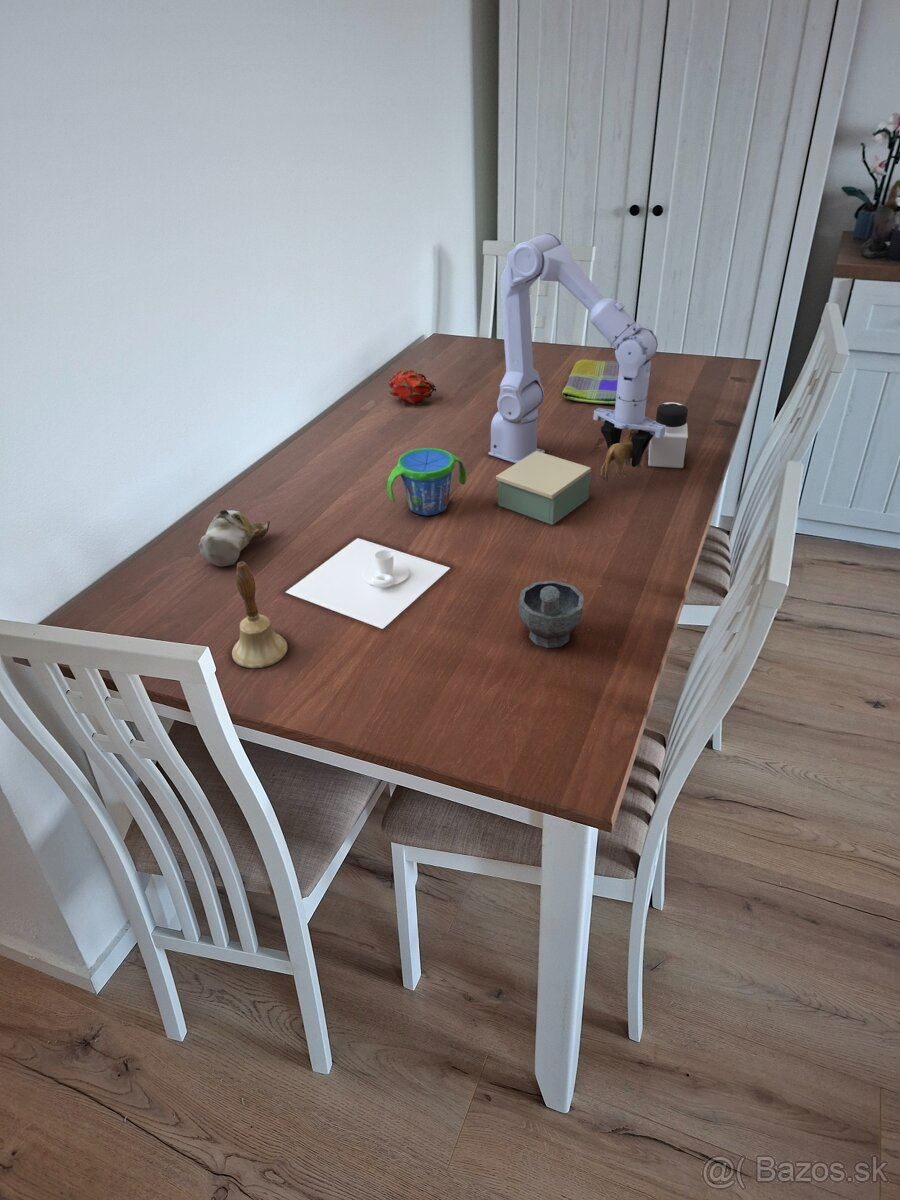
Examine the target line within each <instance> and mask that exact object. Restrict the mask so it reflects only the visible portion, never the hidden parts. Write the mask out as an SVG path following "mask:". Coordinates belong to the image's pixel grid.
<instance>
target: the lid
mask: <svg viewBox="0 0 900 1200" xmlns="http://www.w3.org/2000/svg"><path fill="white" fill-rule="evenodd" d="M591 471H592V468H591V467H590V466H586V465H583V464H581V463H577V462H573V461H570V460H567V459H564V458H560V457H558V456H554V455H551V454H548V453H542V452H538V451H535V452H533V453H532V454H530V455H528V456H527V457H525V458H524V459H522V460H521V461H519V462H517V463H513V465H511V466H509V467H508V468H506V469H505V470H503V471H501V472H499V474H497V475H495V480H496V481H497V482H498V481H501V482H504V483H507V484H510V485H512V486H515V487H518V488H521V489H524V490H527V491H530V492H533V493H536V494H539V495H542V496H545V497H548V498H551V499H552V498H554V497H555V496H557V495H558V494H559V493H561V492H562V491H564V490H565V489H567V488H568V487H569V486H571V485H572V484H574V483H575V482H576V481H578V480H579V479H581V478H582V477H583V476H585V475H586V474H588V473H589V472H591ZM591 473H592V472H591Z"/></svg>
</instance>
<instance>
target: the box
mask: <svg viewBox="0 0 900 1200" xmlns="http://www.w3.org/2000/svg"><path fill="white" fill-rule="evenodd" d="M591 473H592V472H589V473H588V474H586V475H585V476H583V477H582V478H581V479H579V480H578V481H576V482H575V483H574V484H572V485H571V486H569V487H568V488H567V489H565V490H564V491H562V492H561V493H559V494H558V495H557V496H555V497H554V498H552V499H551V498H548V497H545V496H542V495H539V494H536V493H533V492H530V491H527V490H524V489H521V488H518V487H515V486H512V485H510V484H507V483H504V482H501V481H498V480H497V506H499V507H501V508H504V509H506V510H510V511H513V512H516V513H519V514H520V515H524V516H526V517H529V518H532V519H535V520H537V521H541V522H543V523H546V524H548V525H552V526H553V525H555V524H556V523H557V522H559V521H561V520H562V519H563V518H564V517H565V516H567V515H568V514H570V513H572V512H573V511H574V510H575V509H577V508H578V507H579V506H581V505H582V504H584V502H586V501H587V500H588V499H589V498H590V485H591Z"/></svg>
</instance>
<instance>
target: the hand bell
mask: <svg viewBox="0 0 900 1200" xmlns="http://www.w3.org/2000/svg"><path fill="white" fill-rule="evenodd" d="M235 584H236V588H237V590H238V594H239V595H240V597H241V598H242V600H243V602H244V603H243V604H244V607H245V615H246V617H244V618H242V620H241V621H240V623H239V638H238V641H236V642H235V644H234V646H233V648H232V650H231V658H232V660H233V662H235V663H236V664H237V665H238V666H240V667H243V668H246V669H262V668H263V669H264V668H267V667H270V666H272V665H275V664H276V663H278V662H279V661H281V660H282V659H283V658H284V657H285V655H286V654H287V652H288V649H289V648H288V643H287V640H286V639H284V637H283V636H281V635H280V634H278V633H276V632H275V631H274V629H273V626H272V624H271V621H270V619H269V618H268V617H267V616H265V615H264V614H260V612H259V610H258V606H257V603H256V581H255V577H254V575H253V572H252V571H251V569H250V568H249V566H248V564H247V562H245V561H239V562H237V563H236V571H235Z"/></svg>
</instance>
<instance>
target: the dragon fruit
mask: <svg viewBox="0 0 900 1200" xmlns="http://www.w3.org/2000/svg"><path fill="white" fill-rule="evenodd" d="M389 379H390V381H389V382H388V387H389V388H390V389H389V391H388V392H389V394H390V395H392V396H393V397H397V398H398V399H399V400H400V401H401V403H402V405H406V403H407V402H408V403H412V404H415V405H417V406H418V405H419V406H421V405H424V404H426V403H427V402H426V401H423V400H425V399H428V398H432V397H433V392H434V391H435V392H437V388H436V387H437V386H436V385H435V384H434V382H432V381H431V380H428V379H427V377H426V375H425V374H423V373H418V372H417V371H416V372H415V370H413V369H410V370H405V369H399V370H398V371H396V372H393V375H392V376H391V377H390V378H389Z"/></svg>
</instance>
